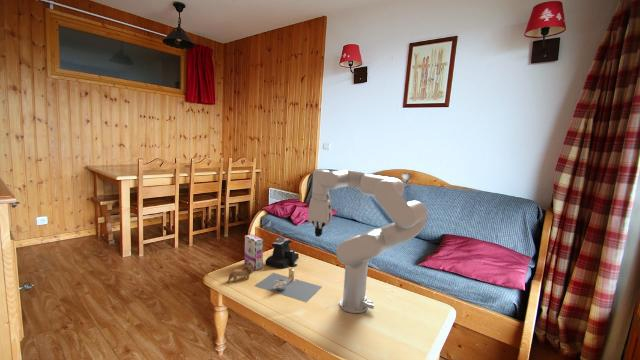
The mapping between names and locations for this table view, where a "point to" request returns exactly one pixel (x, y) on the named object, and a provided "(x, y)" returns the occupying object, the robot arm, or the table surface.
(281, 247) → the camera
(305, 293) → the base plate
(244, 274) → the lion figurine
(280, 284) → the crank handle
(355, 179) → the robot arm
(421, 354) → the table surface
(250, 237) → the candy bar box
